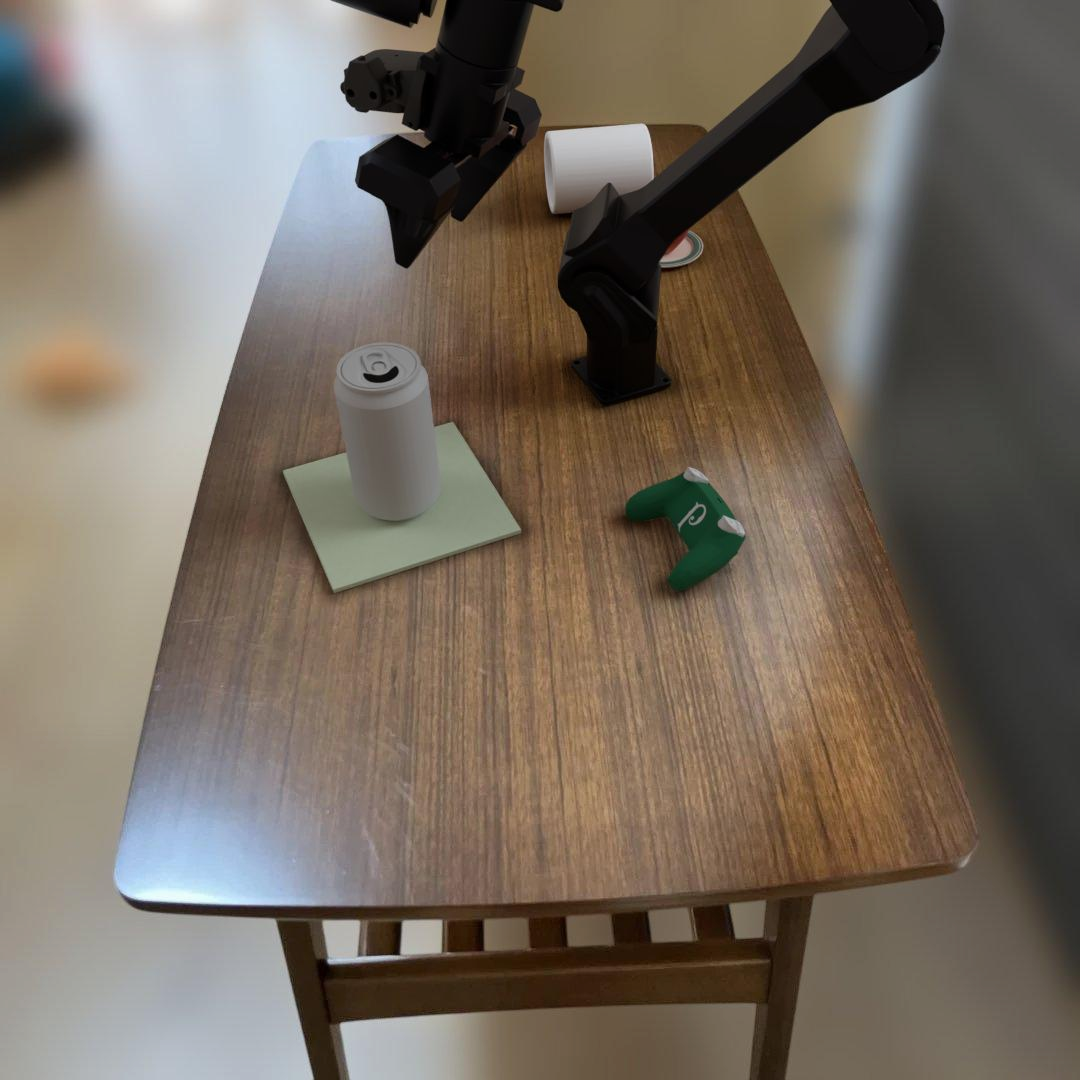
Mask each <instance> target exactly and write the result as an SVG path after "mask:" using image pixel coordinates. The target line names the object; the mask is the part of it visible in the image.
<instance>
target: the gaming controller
mask: <svg viewBox="0 0 1080 1080" xmlns="http://www.w3.org/2000/svg"><path fill="white" fill-rule="evenodd" d="M624 508H625V517H626V518H627V519H628V521H631V522H635V523H638V522H639V523H642V522H643V523H644V522H648V521H654V520H659V519H662V518H667V519H668V521H669V522H670V523H671V525H672V526H673V528H674V529H675V531H676V533H677V535H678V536H679V537H680V539H681V540H682V542H683V543H684V545H685V546H686V548H687V549H688V552H686V553H685V554H683V556H682V557H681V559H680V560H679V561H678V562H677V563H676V564H675V566H674V567H673V569H671V572H670V574H669V575H668V577H667V580H666V583H667V584H668V585H669V587H671V588H672V589H673V590H674V591H675V592H676V593H679V592H682V591H684V590H687V589H689V588H691V587H693V586H696V585H697V584H699V583H701V582H704V581H705V580H707V579H708V578H710V577H712V576H713V575H715V574H716V573H717V572H719V571H721V570H722V569H723V568H725V567H726V566H727V565H728V564H729V563H730V562H731V561H732V560H733V559H734V558H735V557H736V556H737V555H738V554H739V551H740V549H741V547H742V545H743V544H744V542H745V540H746V538H747V536H746V532H745V529H744V527H743V525H742V524H741V523H740V522H739V521H738V520H737V519H736V517H735V514H734V513H733V512H732V510H731V508H730V507H729V506H728V504H727V502H726V501H725V500H724V499H723V498H722V496H721V494H719V493H718V491H717V490H716V489H715V488H714V487H713V485H712V484H711V483H710V480H709V479H708V478H707V476H705V474H704V473H703V472H701V471H699V470H697V469H696V468H693V467H690V466H687V467H686V470H684V471H683V472H682V473H680V474H678V475H676V476H674V477H672V478H669V479H668V478H667V479H666V480H663V481H660V482H657V483H655V484H652V485H649V486H647V487H645V488H642V489H640V490H638V491H636V492H635V494H633V495H631V497H629V499H628V500H627V502H626V503H625V507H624Z"/></svg>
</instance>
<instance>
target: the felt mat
mask: <svg viewBox="0 0 1080 1080" xmlns="http://www.w3.org/2000/svg"><path fill="white" fill-rule="evenodd" d="M434 431H435V439H436V447H437V455H438V464H439V472H440V480H441V492H440V496H439V498H438V500H437V501H436V502H435V504H434V505H433V506H432V507H431V508H429V509H428V510H427V511H425V512H424V513H422V514H421V515H419V516H417V517H415V518H412V519H409V520H405V521H387V520H383V519H378V518H375V517H372V516H370V515H368V514H367V513H365V512H364V511H363V510H362V509H361V508H360V507H359V506H358V504H357V502H356V500H355V495H354V490H353V485H352V479H351V474H350V469H349V464H348V459H347V454H346V451H345V452H342V453H340V454H336V455H332V456H328V457H324V458H321V459H318V460H315V461H314V460H313V461H311V462H307V463H304V464H301V465H297V466H293V467H290V468H287V469H283V470H282V475H283V476H284V479H285V481H286V484H287V486H288V488H289V490H290V493H291V495H292V498H293V500H294V502H295V506H296V507H297V510H298V512H299V515H300V516H301V519H302V521H303V524H304V526H305V529H306V531H307V533H308V536H309V538H310V541H311V543H312V545H313V548H314V550H315V552H316V554H317V556H318V559H319V562H320V564H321V566H322V568H323V571H324V575H326V579H327V580H328V583H329V585H330V588H331V590H332V592H333V594H338V593H339V592H343V591H347V590H349V589H353V588H355V587H358V586H359V587H360V586H362V585H365V584H368V583H372V582H374V581H377V580H380V579H383V578H386V577H389V576H393V575H396V574H400V573H402V572H405V571H409V570H411V569H414V568H417V567H420V566H424V565H426V564H431V563H433V562H436V561H439V560H442V559H443V560H444V559H446V558H449V557H452V556H455V555H458V554H461V553H464V552H467V551H471V550H473V549H474V550H475V549H476V548H477V549H478V548H480V547H482V546H486V545H488V544H492V543H496V542H498V541H501V540H504V539H509V538H511V537H514V536H517V535H521V534H522V528H521V527H520V525H519V524H518V522H517V521H516V519H515V517H514V515H513V514H512V513H511V511H510V510H509V508H508V506H507V505H506V503H505V502H504V500H503V498H502V497H501V495H500V494H499V492H498V491H497V489H496V488H495V486H494V485H493V484H494V483H493V482H492V481H491V480H490V478H489V476H488V475H487V473H486V472H485V469H484V468H483V467H482V465H481V463H480V462H479V460H478V458H477V457H476V456H475V454H474V452H473V451H472V449H471V448H470V446H469V444H468V443H467V441H466V440H465V438H464V436H463V435H462V434H461V432H460V430H459V429H458V427H457V426H456V424H455V422H454V421H451V422H447V423H443V424H439V425H435V426H434Z"/></svg>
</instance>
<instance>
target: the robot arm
mask: <svg viewBox="0 0 1080 1080" xmlns="http://www.w3.org/2000/svg"><path fill="white" fill-rule="evenodd" d="M330 1H331V2H332V3H333V2H334V3H337V4H339V5H342V6H345V7H348V8H351V9H354V10H356V11H359V12H363V13H365V14H368V15H370V16H374V17H377V18H380V19H382V20H385V21H388V22H390V23H391V22H392V23H394V24H397V25H400V26H403V27H405V28H409V29H412V28H413V26H415V25H418V24H419V22H420V17H421V14H422V16H423V17H427V18H430V19H431V18H433V15H434V13H435V10H436V7H437V4H438V0H330ZM829 2H830V4H831V5H830V6H829V7H828V8H827V10H826V11H824V14H823V15H822V16H821V18H820V19H819V21H818V22H817V24H816V25H815V27H814V29H813V30H812V31H811V33H810V34H809V36H808V38H807V39H806V41H805V42H804V43H803V45H802V46H801V49H800V50H799V51H798V53H797V54H796V55H795V56H794V57H793V59H792V60H791V61H789V62H788V64H786V65H785V66H784V67H782V68H781V69H780V70H779V71H778V72H776V74H774V75H773V76H772V77H771V78H769V80H767V81H766V82H765V83H764V84H763V85H762V86H761V87H759V88H758V89H757V90H755V91H754V93H752V94H751V95H750V96H749V97H747V98H746V99H745V100H744V101H743V102H741V103H740V105H738V106H737V107H736V108H734V110H732V111H731V112H730V113H729V114H728V115H727V116H725V117H724V118H723V119H722V120H720V121H719V122H718V123H717V124H716V125H715V126H714V127H712V128H711V129H710V130H709V131H708V132H707V133H705V134H704V135H703V136H702V137H701V138H699V139H698V140H697V141H696V142H695V143H694V144H692V145H691V146H690V147H689V148H688V149H687V150H686V151H684V152H683V153H682V154H680V156H678V157H677V158H675V160H674V161H673V162H671V163H670V164H669V165H668V166H667V167H665V168H664V169H663V170H662V171H661V172H660V173H658V174H657V175H656V176H654V179H653V180H652V181H650V182H649V183H648V184H647V185H646V186H644V187H642V188H641V189H639V190H636V191H633V192H629V193H626V194H622V195H619V194H618V192H617V191H616V189H615V188H614V186H613V185H612V183H610V182H609V183H607V184H606V185H605V186H604V187H603V188H602V189H601V190H600V192H599V193H598V194H597V195H596V197H595V198H594V199H593V200H592V201H591V202H590V203H588V204H587V205H585V206H584V207H581V208H578V209H575V210H573V213H572V214H571V219H570V225H569V227H568V229H567V232H566V234H565V239H564V244H563V248H562V253H561V258H560V263H559V268H558V273H557V290H558V292H559V295H560V298H561V299H562V300H563V302H564V303H565V304H566V306H567V307H569V308H570V309H572V310H573V311H575V312H576V313H577V316H578V318H579V320H580V323H581V325H582V327H583V330H584V333H585V334H586V356H582V357H578V358H575V359H573V360H571V363H570V367H571V370H572V371H574V373H575V374H576V375H577V377H578V378H579V380H581V382H582V383H583V384H584V385H585V387H586V388H587V389H588V391H589V392H590V393H591V394H592V395H593V397H594V398H595V399H596V400H597V401H598V403H599V404H600V405H601V406H610V405H613V404H616V403H621V402H623V401H627V400H630V399H634V398H637V397H640V396H643V395H644V396H645V395H647V394H651V393H654V392H657V391H661V390H664V389H668V388H670V387H671V386H672V378H671V377H670V376H669V375H668V374H667V373H666V372H665V371H664V369H663V368H662V367H661V366H660V365H659V364H658V363H657V352H658V333H659V332H658V331H659V326H658V318H659V305H660V292H661V278H662V268H661V265H660V264H659V262H660V260H661V259H662V257H663V256H664V254H665V253H666V251H667V250H668V248H669V247H670V245H671V244H672V243H673V242H674V241H675V240H676V239H677V238H678V237H680V236H681V235H682V234H683V233H684V232H686V231H687V230H688V229H689V230H690V229H691V228H693V226H695V225H696V224H697V223H698V222H700V221H701V220H702V219H704V218H705V217H706V216H708V214H710V213H711V212H713V210H715V209H716V208H717V207H718V206H719V205H721V204H722V203H723V202H725V201H726V200H728V198H730V197H731V196H732V195H733V194H735V193H736V192H737V191H738V190H740V189H741V188H742V187H743V186H744V185H746V184H747V183H748V182H750V181H751V180H752V179H754V177H756V176H757V175H758V174H759V173H761V172H762V171H763V170H765V169H766V168H767V167H768V166H770V165H771V164H772V163H773V162H774V161H776V160H777V159H778V158H780V157H781V156H782V155H783V154H784V153H786V152H787V151H788V150H790V149H791V148H792V147H794V146H795V144H797V143H798V142H800V140H802V139H803V138H804V137H806V136H807V135H808V134H810V132H812V131H813V130H814V129H816V128H817V127H818V126H819V125H821V124H822V123H823V122H824V121H826V120H827V119H829V118H830V117H833V116H834V115H836V114H840V113H842V112H846V111H849V110H852V109H856V108H859V107H862V106H865V105H868V104H872V103H874V102H877V101H878V100H880V99H881V98H884V97H885V96H887V95H889V94H891V93H893V92H894V91H896V90H898V89H899V88H901V87H903V86H904V85H906V84H909V83H910V82H912V81H913V80H915V79H917V78H918V77H919V76H921V75H923V74H924V73H926V71H927V70H928V69H929V68H930V67H931V66H932V65H933V64H934V63H935V62H936V60H937V58H938V57H939V56H940V54H941V51H942V50H941V48H942V46H943V42H944V38H945V34H946V33H945V32H946V30H945V18H944V15H943V12H942V9H941V7H940V4H939V2H938V0H829ZM564 3H565V0H445V4H444V9H443V12H442V17H441V21H440V26H439V31H438V35H437V39H436V43H435V47H433V48H431V49H430V50H429V51H426V52H425V51H414V50H405V49H404V50H403V49H390V48H380V49H375V50H372V51H370V52H367V53H366V54H364V55H362V54H361V55H359V56H357V57H355V58H354V59H351V60H350V61H349V62H348V65H347V67H346V68H344V69H343V74H344V75H343V76H344V78H343V81H341V83H340V85H339V87H340V89H339V90H340V92H341V93H342V94H343V95H344V98H345V102H346V103H347V104H348V105H349V106H350V107H351V108H353V109H354V110H355V111H356V112H358V113H364V114H367V113H369V112H370V111H372V112H381V113H389V114H390V113H391V114H403V115H402V119H401V125H403V126H405V127H407V128H409V129H411V130H412V131H415V132H418V131H419V130H420V131H422V132H423V137H424V138H425V139H426V140H427V141H429V142H430V143H428V144H427V145H425V146H422V145H420V144H418V143H416V142H413V141H411V140H409V139H408V138H405V137H404V136H401V135H399V134H397V133H396V134H395V135H393V136H391V137H388V138H386V139H384V140H382V141H381V142H379V143H378V144H377V145H375V146H373V147H372V148H370V149H369V150H367V151H366V152H364V153H363V154H361V155H360V156H358V161H357V167H356V172H355V177H354V183H355V185H356V187H357V188H358V189H360V190H362V191H364V192H366V193H368V194H369V195H371V196H372V197H374V198H376V199H377V200H378V199H379V200H380V201H382V203H383V205H384V206H385V209H386V213H387V217H388V221H389V227H390V228H389V229H390V235H391V242H392V248H393V255H394V256H393V257H394V262H395V263H396V265H398V266H400V267H402V268H403V269H406V270H407V269H409V268H410V267H411V266H412V265H413V263H414V262H415V261H416V260H417V258H418V257H419V256H420V255H421V253H422V252H423V250H424V249H425V248H426V246H427V245H428V244H429V242H430V241H431V240H432V238H433V237H434V236H435V234H436V233H437V231H438V230H439V229H440V227H441V226H442V225H443V223H444V222H445V221H446V220H447V218H448V217H449V215H450V217H451V218H452V219H454V220H455V221H458V222H460V223H462V222H464V220H466V218H468V216H469V215H470V214H471V213H472V211H473V210H474V209H475V208H476V207H477V206H478V204H479V203H480V202H481V201H482V199H483V198H484V197H485V196H486V195H487V193H488V192H489V191H490V190H491V189H492V188H493V187H494V185H495V184H496V183H497V181H499V179H500V178H501V177H502V176H503V175H504V174H505V172H506V171H507V170H508V169H509V168H510V167H511V165H512V164H513V163H514V162H515V161H516V160H517V159H518V157H519V156H520V155H521V154H522V153H523V152H524V151H525V150H526V148H527V146H528V143H530V142H531V140H533V139H534V138H535V137H536V135H537V133H538V129H539V126H540V123H541V119H542V116H543V114H542V111H541V109H540V107H539V105H538V102H537V100H536V99H535V98H534V97H532V96H530V95H528V94H526V93H524V92H523V91H520V90H518V89H517V88H518V87H519V86H520V85H522V83H523V80H524V76H525V72H526V69H523V68H521V67H519V61H520V58H521V54H522V52H523V48H524V43H525V40H526V37H527V33H528V29H529V26H530V23H531V22H530V21H531V18H532V16H533V15H532V14H533V11H534V7H535V6H538V7H540V8H543V9H546V10H549V11H551V12H554V13H558V12H561V11H562V9H563V7H564ZM414 24H415V25H414ZM514 127H515V128H516V130H515V134H513V132H514Z"/></svg>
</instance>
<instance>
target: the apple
mask: <svg viewBox="0 0 1080 1080" xmlns="http://www.w3.org/2000/svg"><path fill="white" fill-rule="evenodd" d="M703 250H704V242H703V240H702V239H701V238H700V237H699V235H697V234H696V233H695V232H693V231H691V230H690V228H689V229H688V230H687V231H686V232H684V233H683V234H682V235H681V236H680V237H678V238H677V239H676V240H675V241H674V242H673V243H672V244H671V245H670V247H669V248H668V250H667V251H666V253H665V254H664V256H663V257H662V259H661V260H660V262H659V264H660V265H661V269H667V268H669V269H670V268H676V267H681V266H685V265H688V264H691V263H692V262H694V261H696V260H697V259H699V257H700V256H701V255H702V254H703Z"/></svg>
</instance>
